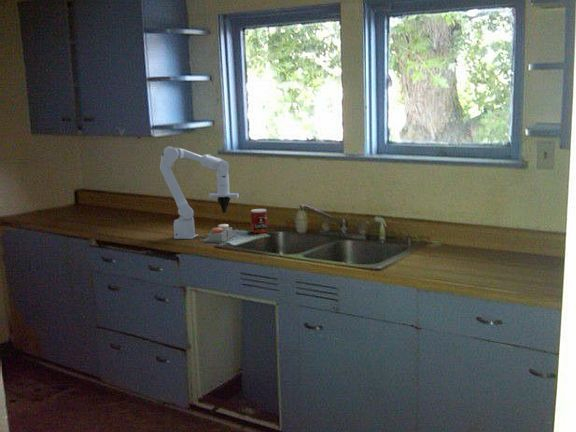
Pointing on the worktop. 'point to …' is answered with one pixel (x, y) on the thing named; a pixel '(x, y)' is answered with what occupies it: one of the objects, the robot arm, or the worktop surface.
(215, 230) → the red plug
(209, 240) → the socket board
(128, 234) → the worktop surface
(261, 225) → the canned food
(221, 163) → the robot arm
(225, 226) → the cream plug
